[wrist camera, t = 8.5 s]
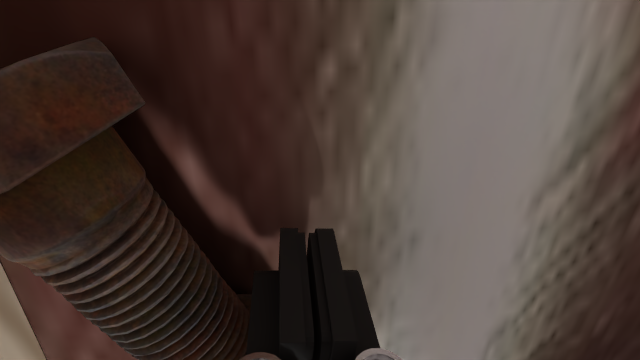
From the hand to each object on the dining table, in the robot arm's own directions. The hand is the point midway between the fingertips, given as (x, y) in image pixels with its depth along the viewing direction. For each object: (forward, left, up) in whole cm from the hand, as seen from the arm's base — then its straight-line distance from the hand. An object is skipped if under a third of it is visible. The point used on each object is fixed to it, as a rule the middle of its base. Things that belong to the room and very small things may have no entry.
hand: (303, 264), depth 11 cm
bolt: (+4, +1, -2) cm, 5 cm away
